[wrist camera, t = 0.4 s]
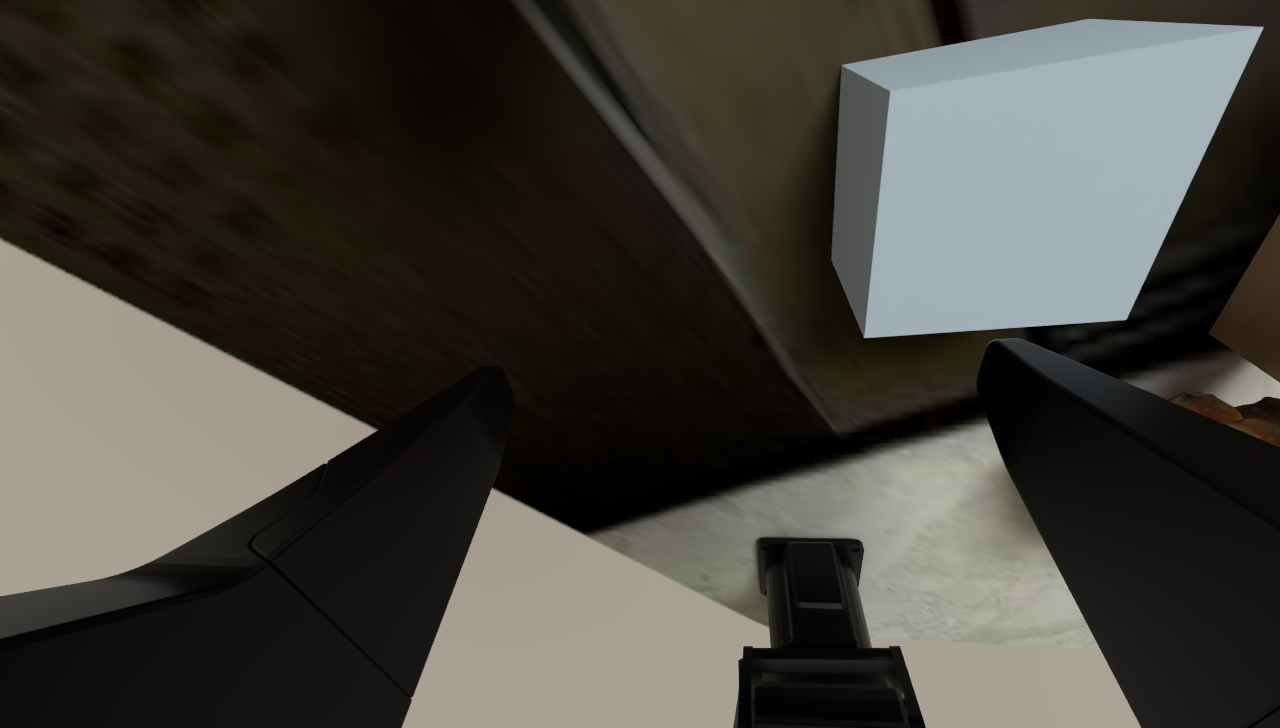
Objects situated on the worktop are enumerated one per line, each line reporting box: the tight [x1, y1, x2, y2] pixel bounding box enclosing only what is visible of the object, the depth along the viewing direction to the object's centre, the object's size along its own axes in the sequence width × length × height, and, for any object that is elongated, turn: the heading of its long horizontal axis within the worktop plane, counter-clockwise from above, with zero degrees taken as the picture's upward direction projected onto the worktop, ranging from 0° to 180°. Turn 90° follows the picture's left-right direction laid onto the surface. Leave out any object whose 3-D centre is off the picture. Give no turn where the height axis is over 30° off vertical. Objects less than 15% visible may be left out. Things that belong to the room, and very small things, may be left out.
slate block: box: [831, 19, 1263, 338], centre depth 15 cm, size 7×7×6 cm
